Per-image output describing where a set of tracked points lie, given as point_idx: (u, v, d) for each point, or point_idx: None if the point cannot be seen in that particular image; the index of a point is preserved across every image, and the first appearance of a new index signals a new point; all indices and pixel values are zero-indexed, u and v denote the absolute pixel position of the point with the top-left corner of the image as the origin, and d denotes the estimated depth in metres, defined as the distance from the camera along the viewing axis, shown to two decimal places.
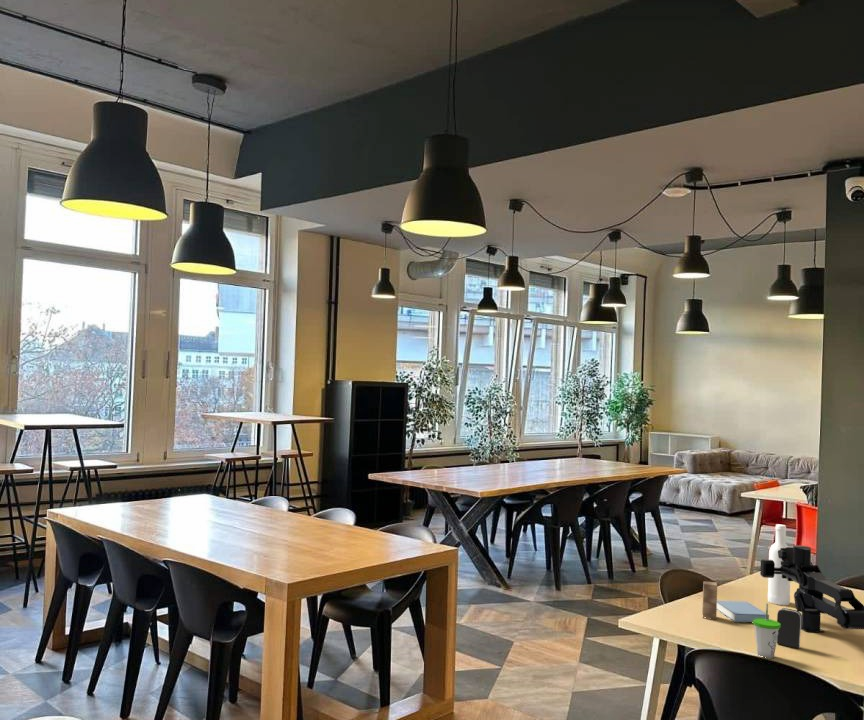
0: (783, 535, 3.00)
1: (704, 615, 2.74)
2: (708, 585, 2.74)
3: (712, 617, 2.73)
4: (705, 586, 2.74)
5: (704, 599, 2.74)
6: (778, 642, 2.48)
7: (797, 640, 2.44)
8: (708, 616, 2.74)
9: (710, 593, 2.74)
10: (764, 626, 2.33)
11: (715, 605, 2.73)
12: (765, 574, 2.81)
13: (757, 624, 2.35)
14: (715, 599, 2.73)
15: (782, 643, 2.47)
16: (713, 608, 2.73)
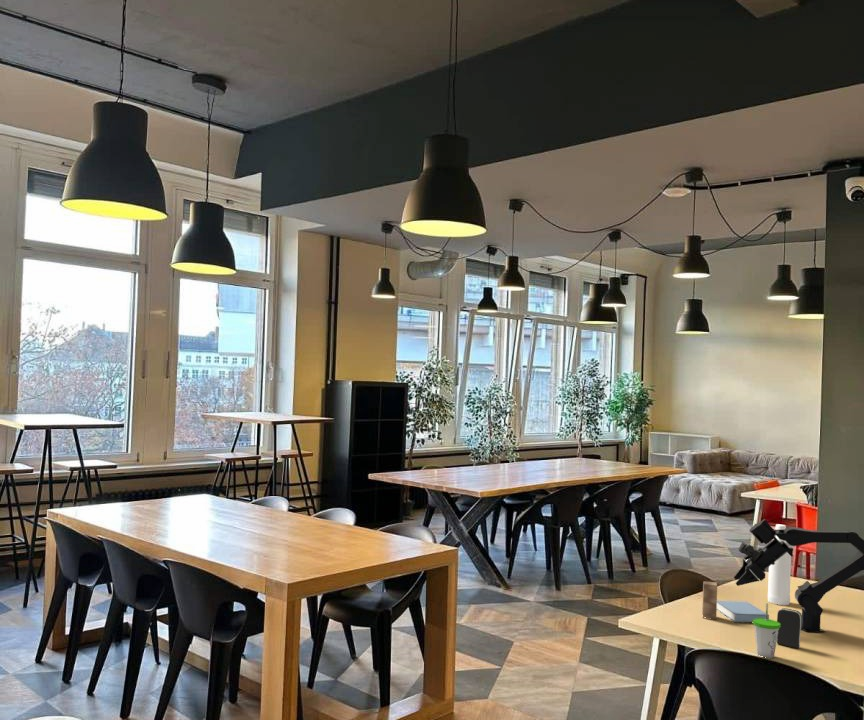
0: None
1: (704, 615, 2.74)
2: (708, 585, 2.74)
3: (712, 617, 2.73)
4: (705, 586, 2.74)
5: (704, 599, 2.74)
6: (778, 642, 2.48)
7: (797, 640, 2.44)
8: (708, 616, 2.74)
9: (710, 593, 2.74)
10: (764, 626, 2.33)
11: (715, 605, 2.73)
12: (764, 573, 2.63)
13: (757, 624, 2.35)
14: (715, 599, 2.73)
15: (782, 643, 2.47)
16: (713, 608, 2.73)
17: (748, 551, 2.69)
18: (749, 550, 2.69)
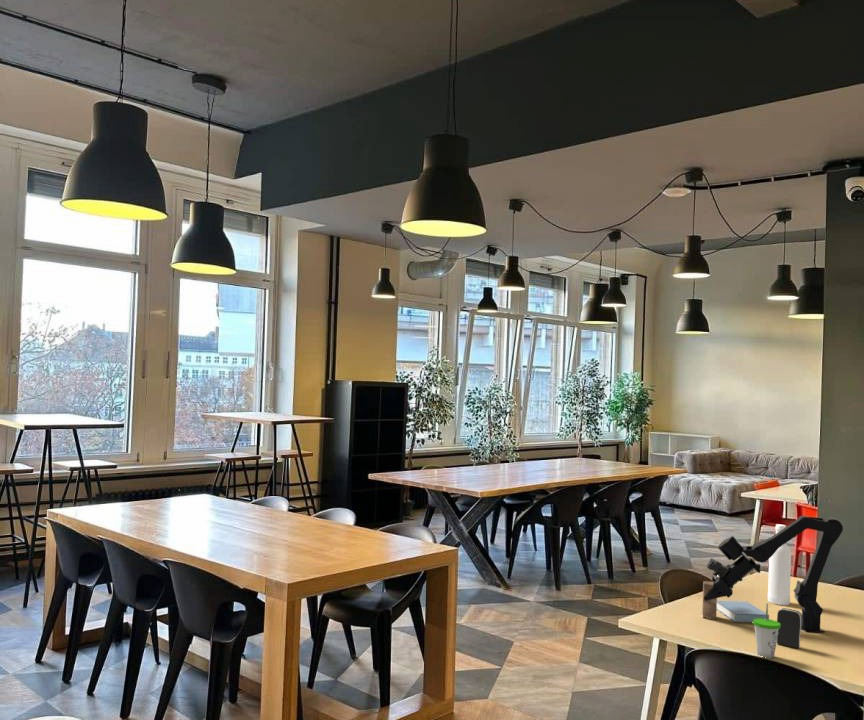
0: None
1: (704, 615, 2.74)
2: (708, 585, 2.74)
3: (712, 617, 2.73)
4: (705, 586, 2.74)
5: None
6: (778, 642, 2.48)
7: (797, 640, 2.44)
8: (708, 616, 2.74)
9: None
10: (764, 626, 2.33)
11: (715, 605, 2.73)
12: (731, 589, 2.66)
13: (757, 624, 2.35)
14: (715, 599, 2.73)
15: (782, 643, 2.47)
16: (713, 608, 2.73)
17: (716, 568, 2.72)
18: (717, 567, 2.72)
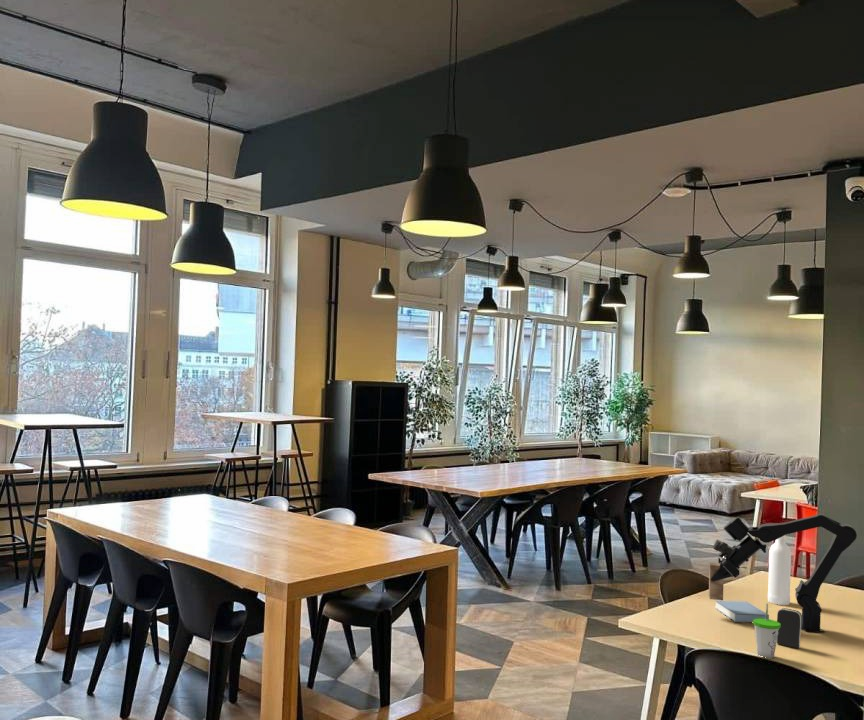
0: None
1: (711, 596, 2.75)
2: (714, 566, 2.75)
3: (719, 598, 2.74)
4: (711, 567, 2.76)
5: None
6: (778, 642, 2.48)
7: (797, 640, 2.44)
8: (715, 597, 2.75)
9: None
10: (764, 626, 2.33)
11: (722, 586, 2.74)
12: (738, 569, 2.67)
13: (757, 624, 2.35)
14: (722, 580, 2.74)
15: (782, 643, 2.47)
16: (720, 589, 2.74)
17: (722, 548, 2.73)
18: (723, 547, 2.73)
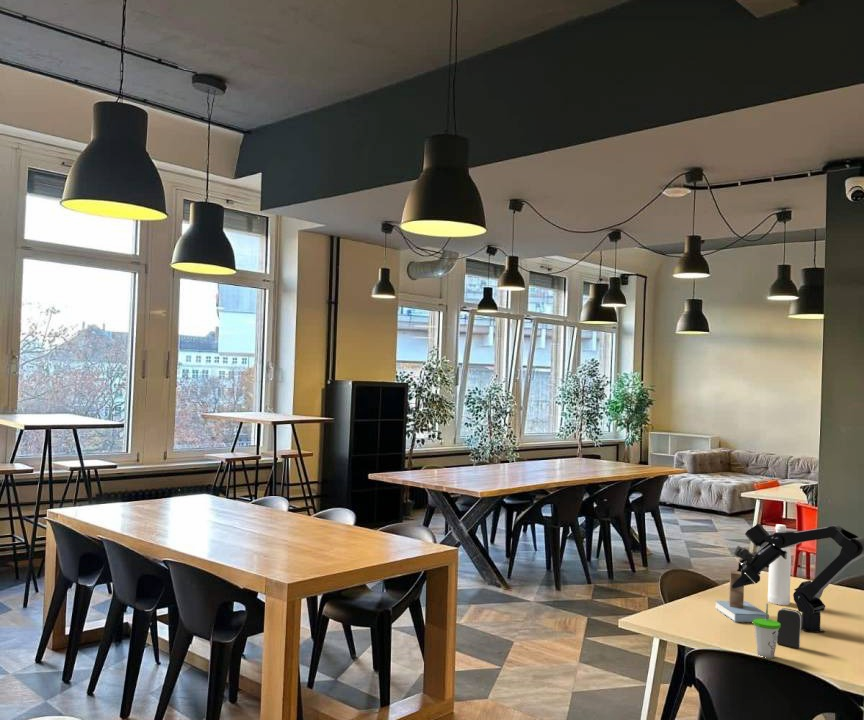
0: None
1: (731, 604, 2.80)
2: (735, 574, 2.80)
3: (739, 606, 2.79)
4: (732, 575, 2.80)
5: (731, 588, 2.80)
6: (778, 642, 2.48)
7: (797, 640, 2.44)
8: (735, 605, 2.79)
9: None
10: (764, 626, 2.33)
11: (742, 594, 2.79)
12: (759, 575, 2.71)
13: (757, 624, 2.35)
14: (742, 588, 2.79)
15: (782, 643, 2.47)
16: (740, 597, 2.79)
17: (743, 555, 2.77)
18: (744, 554, 2.77)
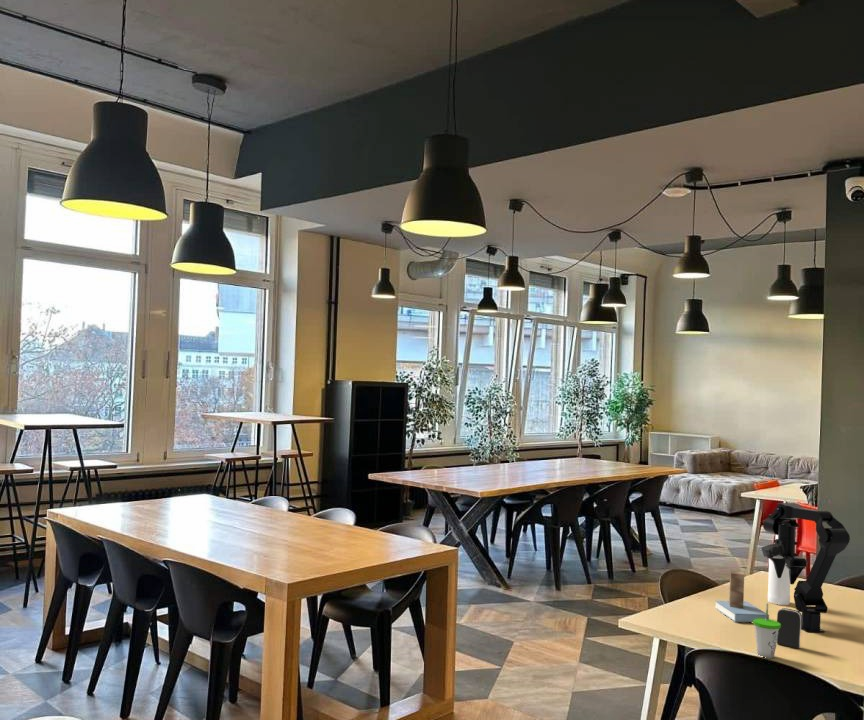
0: None
1: (731, 604, 2.80)
2: (735, 574, 2.80)
3: (739, 606, 2.79)
4: (732, 575, 2.80)
5: (731, 588, 2.80)
6: (778, 642, 2.48)
7: (797, 640, 2.44)
8: (735, 605, 2.79)
9: (737, 582, 2.79)
10: (764, 626, 2.33)
11: (742, 594, 2.79)
12: (803, 558, 2.72)
13: (757, 624, 2.35)
14: (742, 588, 2.79)
15: (782, 643, 2.47)
16: (740, 597, 2.79)
17: (776, 552, 2.76)
18: (776, 551, 2.76)
